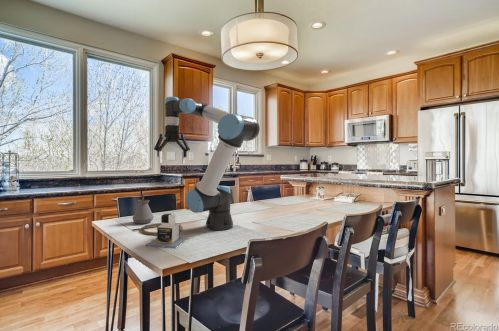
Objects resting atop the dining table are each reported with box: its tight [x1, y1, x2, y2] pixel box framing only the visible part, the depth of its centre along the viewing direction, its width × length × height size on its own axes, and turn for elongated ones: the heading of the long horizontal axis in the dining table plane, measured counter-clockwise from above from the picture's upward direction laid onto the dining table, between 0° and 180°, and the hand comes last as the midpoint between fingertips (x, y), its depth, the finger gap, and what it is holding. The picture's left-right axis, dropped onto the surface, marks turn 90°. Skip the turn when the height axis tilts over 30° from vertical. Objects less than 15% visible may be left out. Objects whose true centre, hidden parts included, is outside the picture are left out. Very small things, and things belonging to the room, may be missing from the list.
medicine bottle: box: [156, 213, 180, 243], centre depth 126 cm, size 7×7×12 cm
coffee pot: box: [132, 193, 154, 225], centre depth 166 cm, size 21×12×15 cm, turn 21°
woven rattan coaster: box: [140, 222, 183, 236], centre depth 147 cm, size 20×20×1 cm
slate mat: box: [145, 236, 189, 248], centre depth 126 cm, size 14×14×1 cm
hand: (171, 163), depth 157 cm, fingers open, 13 cm apart
